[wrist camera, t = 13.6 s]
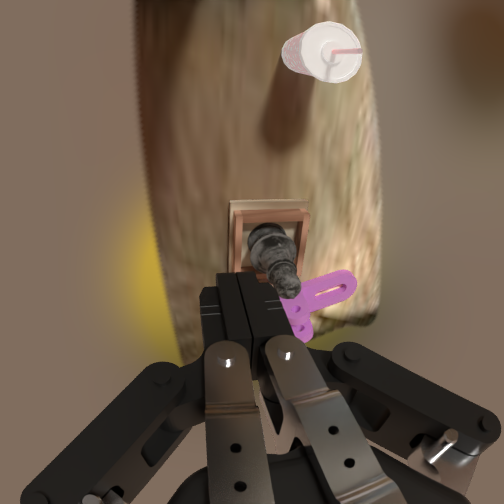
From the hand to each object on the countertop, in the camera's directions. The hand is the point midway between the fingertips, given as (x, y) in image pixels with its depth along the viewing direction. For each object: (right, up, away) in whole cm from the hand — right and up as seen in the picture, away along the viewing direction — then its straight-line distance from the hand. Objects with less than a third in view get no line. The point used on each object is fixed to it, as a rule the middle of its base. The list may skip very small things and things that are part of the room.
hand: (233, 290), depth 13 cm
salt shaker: (+3, +3, +30) cm, 30 cm away
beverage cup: (+6, +24, +19) cm, 31 cm away
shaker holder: (+3, +3, +31) cm, 31 cm away
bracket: (+11, -5, +38) cm, 40 cm away
